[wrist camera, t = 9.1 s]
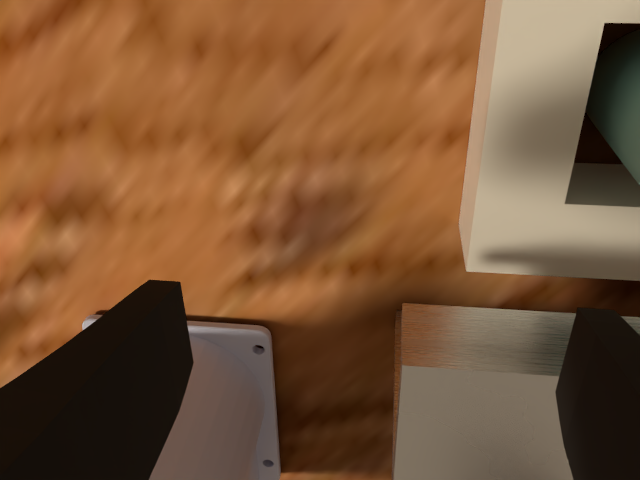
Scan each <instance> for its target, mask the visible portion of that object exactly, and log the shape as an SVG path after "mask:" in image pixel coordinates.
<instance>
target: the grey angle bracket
mask: <svg viewBox="0 0 640 480" xmlns="http://www.w3.org/2000/svg"><path fill="white" fill-rule="evenodd" d="M575 316H576V313H560V312H543V311H527V310H510V309H493V308H477V307H460V306H444V305H427V304H410V303H402V311H397V310H396V319H395V344H394V396H393V449H392V480H573V476H572V473H571V469H570V466H569V462H568V459H567V455H566V452H565V448H564V444H563V439H562V433H561V427H560V421H559V414H558V407H557V401H556V394H555V391H556V387H557V383H558V380H559V376H560V372H561V368H562V365H563V361H564V357H565V353H566V350H567V346H568V342H569V338H570V335H571V331H572V327H573V323H574V320H575ZM621 317H622V318H623V319H624V320H625V321H626V322H627V323H628V324H629V325H630V326H631V327H632V328H633V329H634V330H635V331H636V332H637V333H638V334H639V335H640V317H626V316H621Z"/></svg>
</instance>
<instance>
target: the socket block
mask: <svg viewBox="0 0 640 480" xmlns="http://www.w3.org/2000/svg"><path fill="white" fill-rule="evenodd" d="M604 23H640V0H486V3H485V12H484V20H483V28H482V36H481V45H480V53H479V61H478V69H477V78H476V86H475V94H474V102H473V111H472V119H471V127H470V135H469V144H468V152H467V160H466V168H465V177H464V185H463V193H462V201H461V209H460V218H459V229H460V236H461V242H462V248H463V255H464V261H465V268H466V271H467V272H485V273H503V274H522V275H540V276H559V277H577V278H596V279H614V280H633V281H640V186H639V184H638V183H637V182H636V180H635V179H634V178H633V176H632V175H631V174H630V172H629V171H628V170H627V168H626V167H625V166H624V164H597V163H574V159H575V155H576V150H577V146H578V141H579V136H580V132H581V127H582V123H583V118H584V114H585V109H586V105H587V100H588V96H589V91H590V87H591V82H592V78H593V73H594V68H595V64H596V59H597V55H598V50H599V46H600V41H601V37H602V32H603V28H604Z"/></svg>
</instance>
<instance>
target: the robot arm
mask: <svg viewBox="0 0 640 480" xmlns="http://www.w3.org/2000/svg"><path fill="white" fill-rule="evenodd" d="M82 328H83V331H82V332H80V333H79V334H78V335H76V336H75V337H74V338H72V339H71V340H70V341H68V342H67V343H66V344H64V345H63V346H62V347H60V348H59V349H57V350H56V351H54V352H53V353H51V354H50V355H49V356H47V357H46V358H44V359H43V360H41V361H40V362H39V363H37V364H36V365H34V366H33V367H31V368H30V369H28V370H27V371H26V372H24V373H23V374H21V375H20V376H18V377H17V378H16V379H14V380H12V381H11V382H9V383H8V384H6V385H5V386H3V387H2V388H0V480H279V479H280V474H281V467H280V452H279V438H278V424H277V409H276V395H275V381H274V366H273V352H272V338H271V333H270V331H269V330H268V329H267V328H265V327H263V326H259V325H245V324H230V323H215V322H200V321H187V319H186V314H185V308H184V302H183V296H182V290H181V284H180V282H175V281H159V280H148V281H147V282H146V283H144V284H143V285H141V286H140V287H139V288H137V289H136V290H135V291H133V292H132V293H131V294H129V295H128V296H127V297H126V298H124V299H123V300H122V301H120V302H119V303H118V304H117V305H115V306H114V307H113V308H111V309H110V310H109V311H108V312H106V313H105V314H104V315H89V316H88V317H87V318H86V319H85V321H84V322H83V324H82ZM255 345H261V346H262V347H264V348H258V347H256V346H255ZM555 394H556V401H557V407H558V414H559V421H560V427H561V433H562V439H563V444H564V448H565V452H566V455H567V459H568V462H569V466H570V469H571V473H572V476H573V480H640V335H639V334H638V333H637V332H636V331H635V330H634V329H633V328H632V327H631V326H630V325H629V324H628V323H627V322H626V321H625V320H624V319H623V318H622V317H621V316H620V315H619V314H618V313H617V312H616V311H615V310H604V309H589V308H577V312H576V316H575V320H574V323H573V327H572V331H571V335H570V338H569V342H568V346H567V350H566V353H565V357H564V361H563V365H562V368H561V372H560V376H559V380H558V383H557V387H556V391H555Z"/></svg>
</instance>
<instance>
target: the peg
mask: <svg viewBox="0 0 640 480" xmlns="http://www.w3.org/2000/svg"><path fill="white" fill-rule="evenodd" d="M586 112H587V114H588V116H589V118H590V120H591V121H592V123H593V124H594V125H595V127H596V128H597V129H598V131H599V132H600V133H601V135H602V136H603V137H604V139H605V140H606V141H607V143H608V144H609V145H610V147H611V148H612V149H613V151H614V152H615V153H616V155H617V156H618V158H619V159H620V160H621V162H622V163H623V164H624V166H625V167H626V168H627V170H628V171H629V172H630V174H631V175H632V176H633V178H634V179H635V180H636V182H637V183H638V184H639V186H640V29H639V30H636V31H633V32H631V33H629V34H627V35H625V36H623V37H621V38H619V39H618V40H616V41H615V42H614V43H612V44H611V45H610V46H609V47H608V48H606V49H605V50H604V51H603V53H602V54H601V55H600V56H599V57H598V58H597V60H596V64H595V68H594V73H593V78H592V82H591V87H590V91H589V96H588V100H587V105H586Z"/></svg>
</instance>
